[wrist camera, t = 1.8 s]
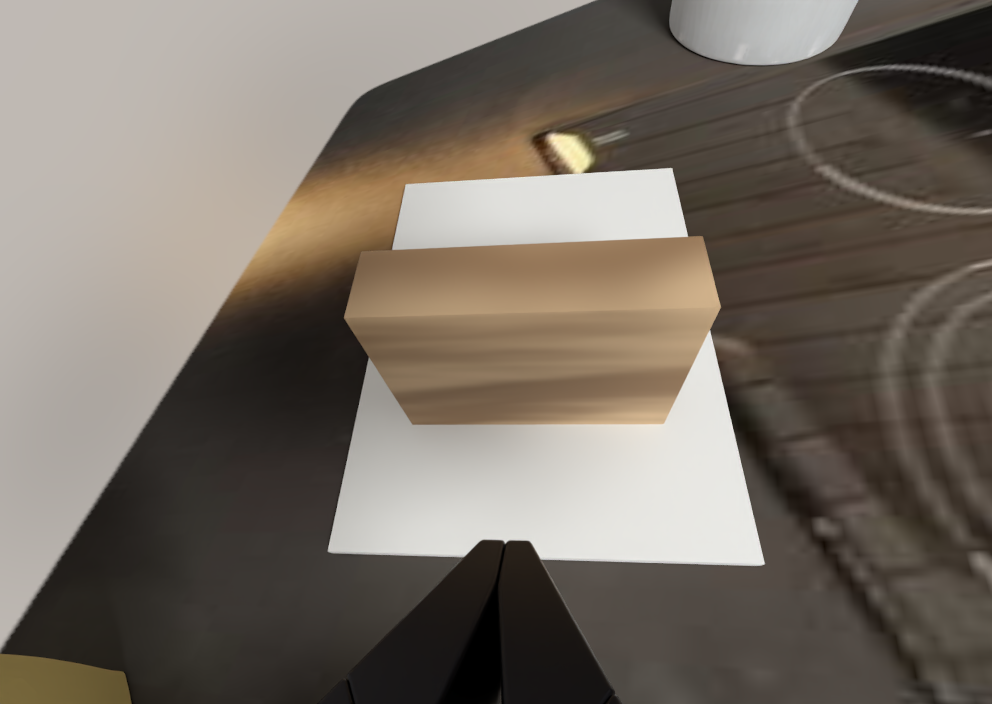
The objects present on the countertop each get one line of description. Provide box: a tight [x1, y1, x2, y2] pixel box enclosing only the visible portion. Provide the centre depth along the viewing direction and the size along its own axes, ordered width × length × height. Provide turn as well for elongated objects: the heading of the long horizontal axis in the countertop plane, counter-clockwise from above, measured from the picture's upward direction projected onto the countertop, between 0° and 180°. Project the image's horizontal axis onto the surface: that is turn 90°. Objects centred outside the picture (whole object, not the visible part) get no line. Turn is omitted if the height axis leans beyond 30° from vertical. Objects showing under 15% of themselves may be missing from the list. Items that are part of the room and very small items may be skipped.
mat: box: [328, 168, 765, 566], centre depth 26 cm, size 24×18×1 cm
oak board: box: [344, 236, 721, 425], centre depth 20 cm, size 3×12×9 cm, turn 87°
